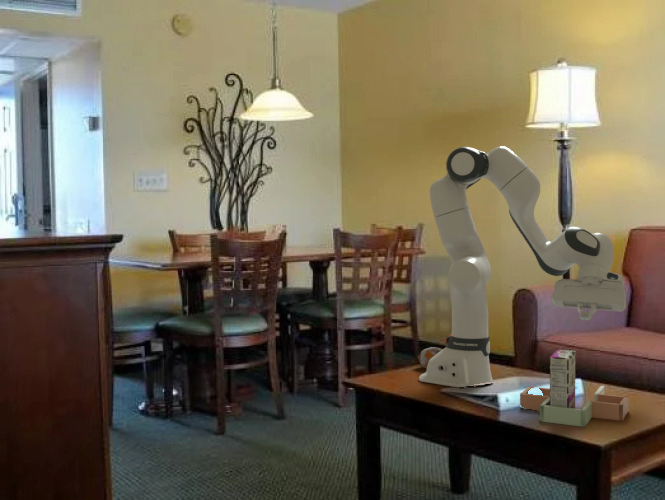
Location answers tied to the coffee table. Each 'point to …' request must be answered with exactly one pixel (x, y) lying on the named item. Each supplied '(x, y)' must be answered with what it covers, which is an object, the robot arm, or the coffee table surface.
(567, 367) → the candy bar box
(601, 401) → the channel
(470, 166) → the robot arm
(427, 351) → the decorative duck model
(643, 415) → the coffee table surface
